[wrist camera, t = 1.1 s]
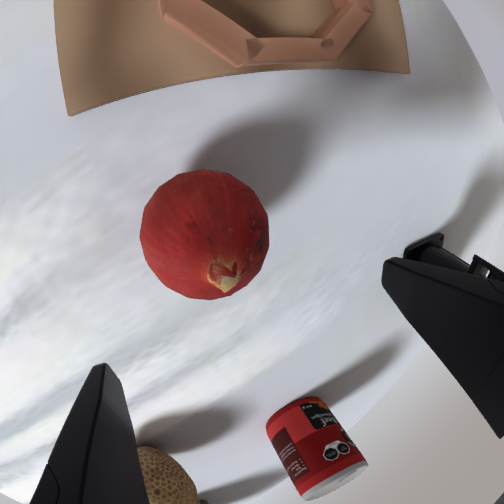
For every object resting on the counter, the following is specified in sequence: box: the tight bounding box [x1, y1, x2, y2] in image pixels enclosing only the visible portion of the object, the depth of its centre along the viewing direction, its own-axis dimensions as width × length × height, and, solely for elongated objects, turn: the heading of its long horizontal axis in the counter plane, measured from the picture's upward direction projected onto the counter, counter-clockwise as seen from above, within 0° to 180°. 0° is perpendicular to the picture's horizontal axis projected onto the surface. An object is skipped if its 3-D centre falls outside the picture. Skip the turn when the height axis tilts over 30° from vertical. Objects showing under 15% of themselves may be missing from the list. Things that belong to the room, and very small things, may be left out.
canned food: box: [266, 397, 368, 501], centre depth 27 cm, size 8×8×11 cm
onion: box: [140, 169, 269, 300], centre depth 13 cm, size 6×6×8 cm
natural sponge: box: [137, 446, 198, 504], centre depth 21 cm, size 9×9×10 cm
